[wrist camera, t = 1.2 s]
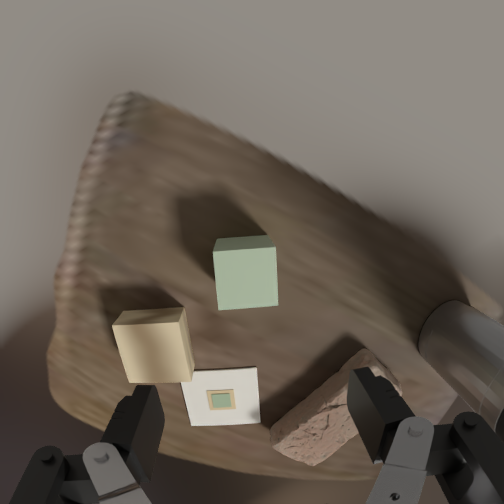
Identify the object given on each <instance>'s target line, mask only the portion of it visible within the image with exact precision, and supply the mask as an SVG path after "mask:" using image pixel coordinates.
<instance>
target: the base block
mask: <svg viewBox="0 0 504 504" xmlns="http://www.w3.org/2000/svg"><path fill="white" fill-rule="evenodd" d="M112 328H113V331H114V335H115V339H116V342H117V345H118V349H119V352H120V355H121V359H122V362H123V365H124V368H125V371H126V374H127V377H128V380H129V383H169V382H192V376H193V371H194V366H195V360H194V355H193V350H192V345H191V340H190V335H189V330H188V324H187V319H186V313H185V308H184V307H176V308H162V309H147V310H131V311H123V312H122V313H121V315H120V316H119V317H118V318H117V320H116V321H115V322H114V323H113V325H112Z"/></svg>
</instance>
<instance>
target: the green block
mask: <svg viewBox="0 0 504 504" xmlns="http://www.w3.org/2000/svg"><path fill="white" fill-rule="evenodd" d="M213 259H214V270H215V280H216V290H217V299H218V309H219V310H228V309H241V308H254V307H266V306H278V286H277V263H276V247H275V245H274V244H273V242H272V240H271V239H270V237H269V236H268V235H260V236H246V237H232V238H219V239H217V240H216V243H215V246H214V249H213Z"/></svg>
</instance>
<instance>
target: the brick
mask: <svg viewBox="0 0 504 504" xmlns="http://www.w3.org/2000/svg"><path fill="white" fill-rule="evenodd" d="M363 367H369V368H370V369H371V371H372V372H373V374H374V375H375V376H380V375H381V376H383V377H384V378H386V379H388V380H389V381H390V382H391V383H392V384H393V386H394V387H395V390H397V391H398V393H399V394H400V396H402V390H401V385H400V383H399V381H398V380H397V379H396V378H395V377H394V375H393V374H392V373H391V372H390V371H389V369H386V368H385V367H384V366H383V365H382V364H381V363H380V362H379V361H378V360H377V359H376V358H375V356H374V354H373V353H372V352H370V351H369V350H368V349H361V350H360V351H358V352H357V353H356V354H355V355H354V356H352V357H351V358H350V359H349V360H348V361H347V362H346V363H345V364H344V365H343V366H342V367H341V369H340V370H339V372H336V373H335V374H334V375H332V376H331V377H330V378H328V379H327V381H326V382H324V383H323V384H322V386H320V387H319V388H317V389H315V390H314V391H313V392H312V393H311V394H310V395H309V396H307V398H306V399H305V400H302V401H301V402H300V403H299V404H298V405H296V406H295V407H294V408H293V409H291V410H290V411H289V412H288V413H286V414H285V415H284V416H283V417H282V418H281V419H280V420H279V421H277V422H276V423H275V424H274V425H273V426H272V427H271V429H270V435H271V437H270V440H271V443H272V447H273V448H274V449H275V450H277V451H279V452H281V453H282V454H283V455H286V456H288V457H290V458H292V459H294V460H297V461H301V462H304V463H306V464H308V465H311V466H315V465H316V464H317V463H320V462H322V461H324V460H325V459H326V458H328V457H329V456H330V455H332V454H333V453H334V452H335V451H336V450H338V449H339V448H340V447H341V446H342V445H344V444H345V443H346V442H347V440H348V439H350V438H352V437H354V436H355V435H356V434H358V433H359V432H358V430H357V428H356V426H355V424H354V421H353V419H352V417H351V415H350V413H349V411H348V407H347V390H348V382H349V373H350V370H352V369H357V368H363Z"/></svg>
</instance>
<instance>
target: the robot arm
mask: <svg viewBox="0 0 504 504" xmlns="http://www.w3.org/2000/svg"><path fill="white" fill-rule="evenodd" d="M418 346H419V352H420V354H421V356H422V357H423V358H424V359H425V360H426V361H427V362H428V363H429V364H430V365H431V366H432V367H433V368H434V369H435V370H436V372H437V373H438V374H439V375H440V376H441V377H442V378H443V379H444V380H445V381H446V382H447V383H448V384H449V385H450V386H451V387H452V388H453V389H454V390H455V391H456V392H457V393H458V394H459V395H460V396H461V397H462V399H463V400H464V401H465V402H466V403H467V404H468V405H469V406H470V407H471V408H472V409H473V410H474V411H475V412H476V413H474V412H463V413H460V414H459V415H457V416H456V417H455V419H454V421H453V424H445V425H433V424H432V423H431V422H430V421H429V420H427V419H425V418H423V417H416V416H415V415H414V414H413V412H412V411H411V409H410V408H409V407H408V405H407V404H406V402H405V401H404V400H403V398H402V397H401V396H400V394H399V393H398V391H397V390H395V387H394V386H393V384H392V383H391V382H390V381H389V380H388V379H386V378H384V377H383V376H381V375H380V376H375V375H374V374H373V372H372V371H371V369H370V368H369V367H363V368H357V369H352V370H350V373H349V382H348V390H347V407H348V411H349V413H350V415H351V417H352V419H353V421H354V424H355V426H356V428H357V430H358V432H359V434H360V436H361V438H362V441H363V443H364V445H365V447H366V449H367V451H368V453H369V456H370V458H371V460H372V462H373V464H376V463H380V462H383V463H384V465H383V467H382V469H381V471H380V474H379V476H378V478H377V481H376V483H375V485H374V487H373V490H372V491H371V494H370V496H369V498H368V500H367V502H366V504H417V503H418V500H419V497H420V494H421V491H422V488H423V484H424V480H425V477H426V476H429V475H435V477H436V479H437V481H438V483H439V485H440V486H441V488H442V491H443V492H444V494H445V496H446V498H447V500H448V502H449V504H504V326H503V325H501V324H500V323H498V322H497V321H495V320H494V319H492V318H490V317H489V316H487V315H485V314H484V313H482V312H480V311H479V310H477V309H475V308H474V307H472V306H467V305H466V304H464V303H462V302H460V301H456V300H453V301H448V302H446V303H444V304H442V305H441V306H439V307H438V308H437V309H436V310H435V311H434V312H432V314H431V315H430V316H429V317H428V319H427V320H426V322H425V324H424V326H423V328H422V330H421V333H420V337H419V344H418ZM164 423H165V418H164V412H163V409H162V405H161V402H160V399H159V395H158V392H157V388H156V386H155V385H137V386H136V388H135V390H134V392H133V394H132V396H125V397H124V398H123V399H122V400H121V401H120V402H119V403H118V405H117V407H116V409H115V413H113V415H112V417H111V419H110V422H109V424H108V426H107V428H106V430H105V432H104V435H103V437H102V439H101V441H100V443H96V444H93V445H91V446H89V447H88V448H87V449H86V450H85V451H84V453H83V454H81V455H67V456H64V454H63V453H62V451H61V450H60V449H59V448H57V447H55V446H45V447H42V448H40V449H38V450H37V451H36V452H35V453H34V455H33V457H32V458H31V460H30V462H29V464H28V466H27V468H26V470H25V472H24V474H23V476H22V478H21V480H20V482H19V484H18V486H17V488H16V490H15V492H14V495H13V497H12V499H11V501H10V503H9V504H95V503H100V504H151V502H150V501H149V499H148V498H147V497H146V495H145V493H144V492H143V491H142V489H141V487H140V482H149V483H150V481H151V477H152V472H153V468H154V464H155V460H156V456H157V452H158V448H159V444H160V440H161V436H162V432H163V428H164Z"/></svg>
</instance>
